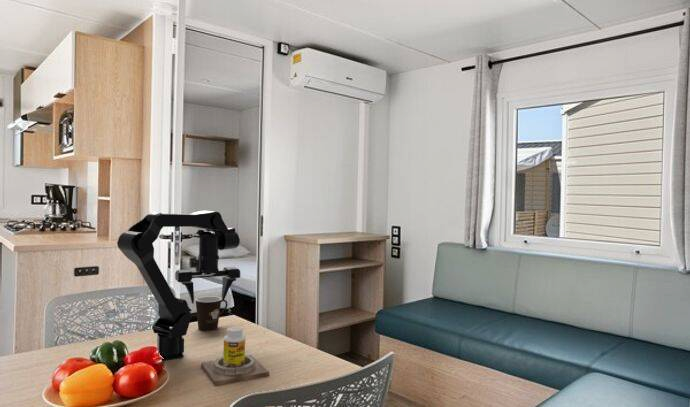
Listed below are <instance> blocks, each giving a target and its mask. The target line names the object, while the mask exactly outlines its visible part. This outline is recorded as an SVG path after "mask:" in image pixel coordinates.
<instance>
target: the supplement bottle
mask: <svg viewBox="0 0 690 407" xmlns="http://www.w3.org/2000/svg"><path fill="white" fill-rule="evenodd" d="M245 355H246V335H244V334H243V327H240V326H230V327H228V328H227V329H226V335H225V336H224V337H223V355H222V357H223V367H230V368H236V367H242V366H244V364H245Z"/></svg>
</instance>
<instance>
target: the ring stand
mask: <svg viewBox="0 0 690 407" xmlns="http://www.w3.org/2000/svg"><path fill="white" fill-rule="evenodd" d="M200 367H201V369H203V370H202V371H204V373H205V374H206V375H207V377H208V378H209V379H210V382H212V384H213V385H214V386H219V385H220V386H221V385H226V384H231V383H236V382H241V381H247V380H253V379H257V378H263V377H268V376H270V371H269V370H268V369H267V368H266V367H265V366H264V365H263V364H262V363H260V361H258V360H257V359H256V358H255V356H253V355H252V354H248V355H247V354H245V364H244V366H242V367H236V368H230V367H223V356H221V357H218V358H216V359H215V360H209V361H204V362H200Z"/></svg>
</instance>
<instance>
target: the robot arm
mask: <svg viewBox="0 0 690 407" xmlns="http://www.w3.org/2000/svg"><path fill="white" fill-rule="evenodd" d="M165 227H166V228H167V227H168V228H169V227H170V228H173V227H174V228H175V227H181V228H183V227H185V228H186V227H188V228H189V227H192V228H195V229H198V230H197V231H196V232H195V233H194V234H193V238H195V239H196V238H197V239H199V240H198V258H197V257H189V260H188V261H189V263H188V265H189V267H188V268H189V269H177V270H176V271H175V273H174V274H175V275H174V277H175V278H174V279H175V281H176V282H178V283H180V284H182V285H183V286H185V288H186V291H187V294H188V296H189V299H190V302H191V304H194V302H195V291H194V282H193V281H192V280H193V279H200V278H213V277H214V278H215V277H222V287H221V300H222V302H224V300H226V297H227V295H228V291H229V290H230V288H231V286H232V284H233V283H234V282H236V281H237V279H240V278H241V270H240V269H239V268H237V267H236V266H224V267H223V269H219V259H220V255H219V251H226V250H233V249H237V248H238V247H239V246H240V243H241V242H240V241H241V239H240V237H239V234H238V233H237V232H236V228H235V227H228V226H227V225H226V223H225V222H224V220H223V217H222V215H221V213H220V212H218V211H215V210H214V211H213V210H199V211H194V212H192V213H162V212H149V213H147V214H146V215H145V216H144V217H143V218H142V219H141V220H140V221H138V222H136V223H135V224H133V225H132V226H130V227H129V228H128V230H126V231H124V232H122V233H121V234H120V235H119V237H118V240H117V242H116V245H117V248H118V249H119V250H120V251H121V253H122V254H123V255H124V256H125V257H126V258H127V259H128V260H129V261H131V262H132V263H133V264H134V265H135V266H136V267H137V270H138V271H139V273H140V274H141V276H142V278H143V280H144V281H145V283H146V285H147V286H148V289H149V291H150V292H151V294H152V295H153V297H154V299H155V301H156V302H157V304H158V310H157V312H158V316H159V317H158V319H157V320H156V321H155V322H154V324H153V325H152V326H151V327H152V332H153V333H154V334H157V336H156V337H157V338H156V340H157V342H156V346H157V348H158V350H159V353H160V355H161V356H162V357H163V358H164V360H163V361H166V360H173V359H179V358H183V357H184V353H185V338H184V336H187V333H188V330H189V325H190V324H191V319H192V313H191V312H192V309H191V308H190V307H189V304H188V302H187V300H186V299H182V298H179V297H176V295H175V294H174V293H173V290H172V289H171V287H170V285H169V284H168V282H167V280H166V278H165V276H164V275H163V272H162V270H161V269H160V266H159V265H158V263H157V261H156V260H155V258H154V257H155V247H154V244H153V243H154V242H155V241H156V240H157V239H158V238H159V235H160V233H161V231H162V229H163V228H165ZM190 269H195V271H191V270H190ZM157 348H156V349H157Z"/></svg>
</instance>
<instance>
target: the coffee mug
mask: <svg viewBox="0 0 690 407" xmlns="http://www.w3.org/2000/svg"><path fill="white" fill-rule="evenodd" d="M222 302H224V303H225V306H224V307H223V310H221V305H222ZM195 307H196V317H197V318H196V319H197V329H198V330H199V331H202V332H209V331H214V330H218V329H219V328H218V327H219V320H220V316H222V315H223V313H224V312H225V311H226V309H227V307H228V301H227V300H226V299H224V301H222V297H220V296H200V297H197V298H195Z"/></svg>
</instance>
